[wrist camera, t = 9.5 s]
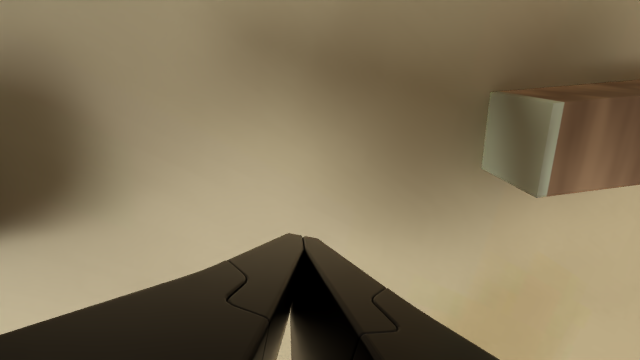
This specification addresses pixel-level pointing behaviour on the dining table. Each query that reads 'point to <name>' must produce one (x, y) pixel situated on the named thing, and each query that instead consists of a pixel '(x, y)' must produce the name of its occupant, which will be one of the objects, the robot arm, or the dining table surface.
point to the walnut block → (565, 137)
